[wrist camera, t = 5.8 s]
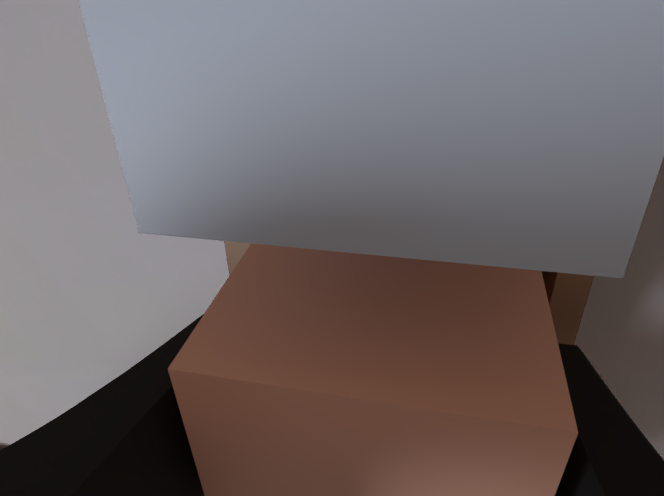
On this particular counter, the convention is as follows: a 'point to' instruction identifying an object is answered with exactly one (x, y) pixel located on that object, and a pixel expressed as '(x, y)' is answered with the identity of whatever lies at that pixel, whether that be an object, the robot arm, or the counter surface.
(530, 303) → the terracotta block
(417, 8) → the slate block
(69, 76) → the counter surface
